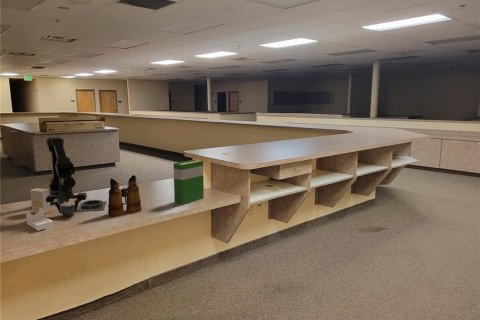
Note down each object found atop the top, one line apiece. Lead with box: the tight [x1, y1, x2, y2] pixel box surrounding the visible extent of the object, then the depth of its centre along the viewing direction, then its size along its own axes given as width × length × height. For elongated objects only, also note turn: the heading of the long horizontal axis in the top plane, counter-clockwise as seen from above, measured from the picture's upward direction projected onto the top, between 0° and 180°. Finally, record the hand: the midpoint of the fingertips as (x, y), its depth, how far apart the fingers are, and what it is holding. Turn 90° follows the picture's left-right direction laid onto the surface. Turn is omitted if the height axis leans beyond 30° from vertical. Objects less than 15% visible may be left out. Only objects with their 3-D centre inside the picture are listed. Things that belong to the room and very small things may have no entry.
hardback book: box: [173, 159, 205, 205], centre depth 207 cm, size 18×7×24 cm, turn 142°
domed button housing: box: [59, 203, 75, 218], centre depth 180 cm, size 7×6×5 cm
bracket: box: [25, 208, 54, 232], centre depth 164 cm, size 13×7×8 cm, turn 50°
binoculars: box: [107, 174, 142, 218], centre depth 184 cm, size 18×8×20 cm, turn 130°
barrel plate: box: [76, 199, 108, 213], centre depth 194 cm, size 14×14×3 cm
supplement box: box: [29, 187, 52, 215], centre depth 183 cm, size 8×5×13 cm, turn 71°
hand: (68, 212), depth 180 cm, fingers closed on domed button housing, 7 cm apart
